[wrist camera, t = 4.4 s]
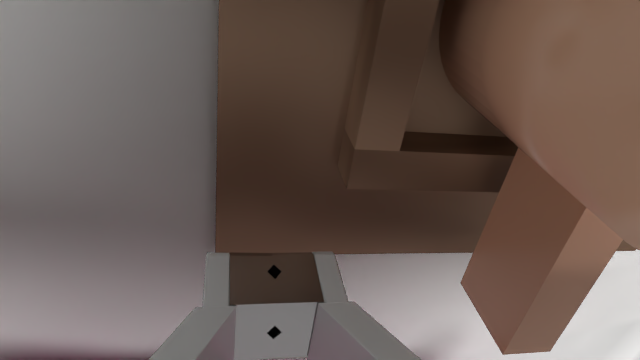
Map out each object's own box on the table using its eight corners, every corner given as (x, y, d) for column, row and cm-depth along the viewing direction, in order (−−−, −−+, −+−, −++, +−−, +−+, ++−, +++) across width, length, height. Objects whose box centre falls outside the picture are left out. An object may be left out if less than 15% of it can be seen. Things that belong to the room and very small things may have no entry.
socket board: (229, -719, 5) (229, -899, 4) (1029, -351, 9) (1158, -391, 8) (215, 249, 14) (213, 283, 13) (629, 245, 17) (659, 272, 16)
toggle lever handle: (480, -130, 9) (775, -160, 4) (684, -89, 10) (1106, -74, 5) (379, 239, 14) (457, 420, 9) (522, 239, 16) (657, 399, 11)
